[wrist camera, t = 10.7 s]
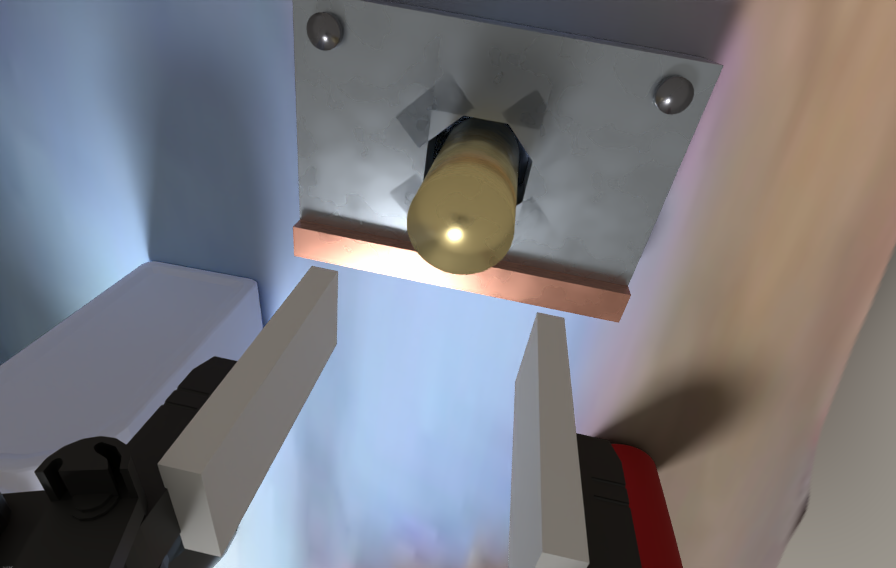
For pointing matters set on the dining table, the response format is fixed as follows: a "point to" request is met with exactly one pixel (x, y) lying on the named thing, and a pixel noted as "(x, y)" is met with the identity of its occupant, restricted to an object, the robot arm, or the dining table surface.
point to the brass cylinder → (468, 199)
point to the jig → (501, 100)
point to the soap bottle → (118, 361)
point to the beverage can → (648, 509)
